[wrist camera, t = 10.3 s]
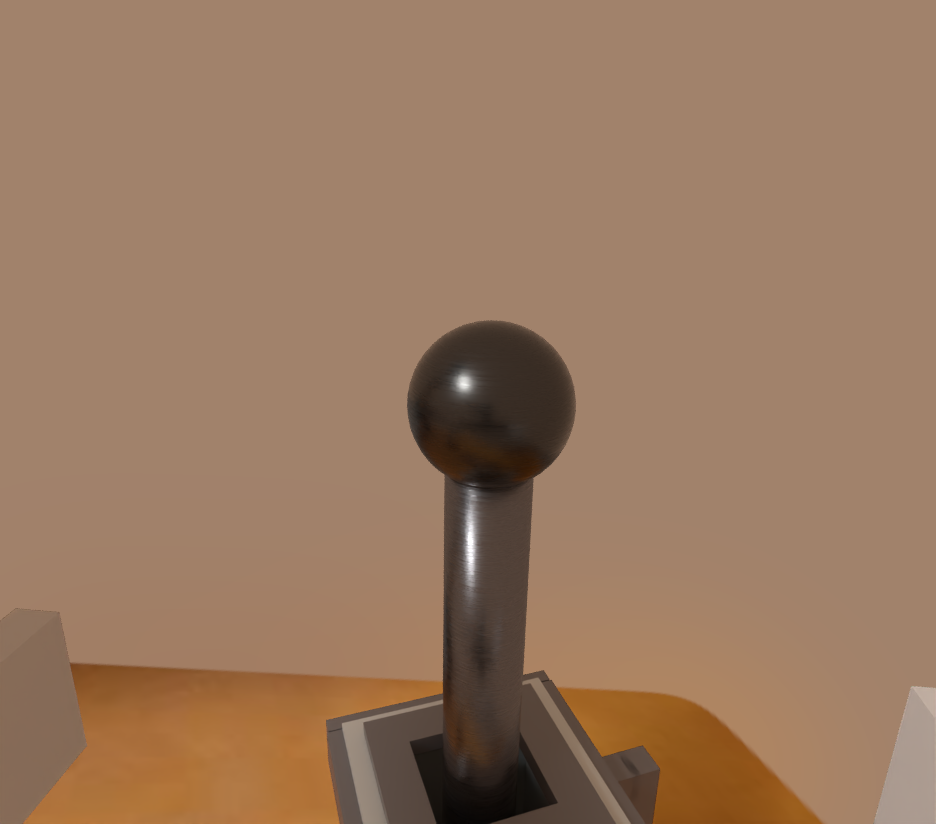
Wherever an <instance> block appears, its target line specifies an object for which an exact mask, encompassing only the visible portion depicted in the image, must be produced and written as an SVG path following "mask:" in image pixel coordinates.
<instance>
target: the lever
mask: <svg viewBox="0 0 936 824" xmlns="http://www.w3.org/2000/svg"><path fill="white" fill-rule="evenodd" d="M407 401H408V402H407V408H408V418H409V423H410V428H411V431H412V433H413V436H414V439H415V441H416V442H417V445H418V446H419V448H420V450H421V452H422V453H423V454H424V456H425V457H426V458H427V459H428V461H429V462H430V463H431V464H432V465H433V466H434V467H435V468H437V469H438V470H439V471H440V472H442V473H443V474H444V475H445V496H444V498H445V501H444V504H445V505H444V635H443V638H444V639H443V641H444V642H443V648H444V649H443V774H442V824H490V823H493V822H497V821H500V820H503V819H507V818H510V817H513V816H515V814H516V795H517V776H518V758H519V739H520V720H521V702H522V683H523V664H524V646H525V626H526V608H527V590H528V571H529V551H530V533H531V515H532V496H533V478H534V477H535V476H537V475H538V474H540V473H541V472H543V471H544V470H545V469H546V468H547V467H549V466H550V465H551V464H552V463H553V462H554V460H555V459H556V458H557V457H558V456H559V454H560V453H561V451H562V450H563V448H564V447H565V445H566V443H567V441H568V439H569V436H570V434H571V430H572V427H573V424H574V418H575V412H576V410H575V408H576V401H575V391H574V386H573V382H572V378H571V375H570V373H569V371H568V369H567V367H566V365H565V363H564V361H563V360H562V358H561V356H560V355H559V354H558V352H557V351H556V350H555V349H554V348H553V347H552V346H551V345H550V344H549V343H548V342H547V341H546V340H545V339H544V338H542V337H541V336H539V335H538V334H536V333H534V332H533V331H531V330H529V329H527V328H525V327H522V326H520V325H517V324H514V323H510V322H504V321H478V322H474V323H470V324H466V325H463V326H461V327H458V328H456V329H454V330H452V331H450V332H449V333H447V334H445V335H444V336H442V337H441V338H440V339H438V340H437V341H436V342H435V343H434V344H433V345H432V346H431V347H430V348H429V349H428V350H427V351H426V352H425V354H424V355H423V357H422V358H421V360H420V361H419V363H418V365H417V367H416V369H415V371H414V373H413V376H412V379H411V382H410V386H409V391H408V400H407Z"/></svg>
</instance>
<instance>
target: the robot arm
mask: <svg viewBox="0 0 936 824" xmlns="http://www.w3.org/2000/svg"><path fill="white" fill-rule="evenodd" d="M86 746H87V743H86V739H85V734H84V729H83V724H82V719H81V715H80V710H79V705H78V700H77V695H76V691H75V686H74V681H73V676H72V672H71V667H70V662H69V657H68V653H67V648H66V643H65V638H64V633H63V629H62V624H61V619H60V614H59V612H51V611H39V610H27V609H14V610H13V611H12V612H11V613H10V614H8V615H7V616H6V617H4V618H3V619H2V620H1V621H0V824H23V822H24V821H25V820H26V819H27V818H28V816H29V815H30V814H31V813H32V812H33V810H34V809H35V808H36V807H37V805H38V804H39V803H40V802H41V801H42V799H43V798H44V797H45V796H46V795H47V793H48V792H49V791H50V790H51V789H52V787H53V786H54V785H55V784H56V782H57V781H58V780H59V779H60V778H61V776H62V775H63V774H64V773H65V772H66V770H67V769H68V768H69V767H70V766H71V764H72V763H73V762H74V761H75V759H76V758H77V757H78V756H79V755H80V753H81V752H82V751H83V750H84V749H85V747H86ZM873 824H936V688H928V687H916V686H911V689H910V693H909V696H908V700H907V704H906V707H905V711H904V715H903V718H902V722H901V725H900V729H899V733H898V736H897V740H896V743H895V747H894V751H893V754H892V758H891V762H890V765H889V769H888V773H887V776H886V780H885V783H884V787H883V791H882V795H881V798H880V802H879V805H878V809H877V812H876V816H875V820H874V823H873Z"/></svg>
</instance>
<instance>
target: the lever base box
mask: <svg viewBox="0 0 936 824" xmlns="http://www.w3.org/2000/svg"><path fill="white" fill-rule="evenodd" d="M326 728H327V744H328V760H329V767H330V772H331V778H332V783H333V789H334V794H335V800H336V805H337V811H338V816H339V822H340V824H442V774H443V694H438V695H434V696H430V697H425V698H421V699H417V700H412V701H408V702H403V703H399V704H395V705H390V706H386V707H382V708H377V709H373V710H369V711H364V712H360V713H356V714H351V715H347V716H342V717H338V718H334V719H329V720H326ZM659 773H660V768H659V767H658V766H657V764H656V763H655V761H654V760H653V759H652V757H651V756H650V755H649V753H648V752H647V751H646V749H645V748H644V747H643V746H639V747H636V748H632V749H629V750H625V751H622V752H618V753H615V754H611V755H607V756H604V757H601V755H600V753H599V752H598V750H597V749H596V747H595V746H594V744H593V743H592V741H591V740H590V738H589V737H588V735H587V734H586V732H585V731H584V729H583V728H582V726H581V724H580V723H579V721H578V720H577V718H576V717H575V715H574V714H573V712H572V711H571V709H570V708H569V706H568V705H567V703H566V702H565V700H564V699H563V697H562V695H561V694H560V692H559V691H558V689H557V688H556V686H555V685H554V683H553V682H552V680H549V678H548V676H547V675H546V673H545V672H544V671H539V672H534V673H530V674H525V675H523V683H522V702H521V720H520V739H519V758H518V776H517V795H516V814H515V816H513V817H510V818H507V819H503V820H500V821H497V822H493V823H490V824H652V823H653V815H654V808H655V801H656V794H657V787H658V780H659Z"/></svg>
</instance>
